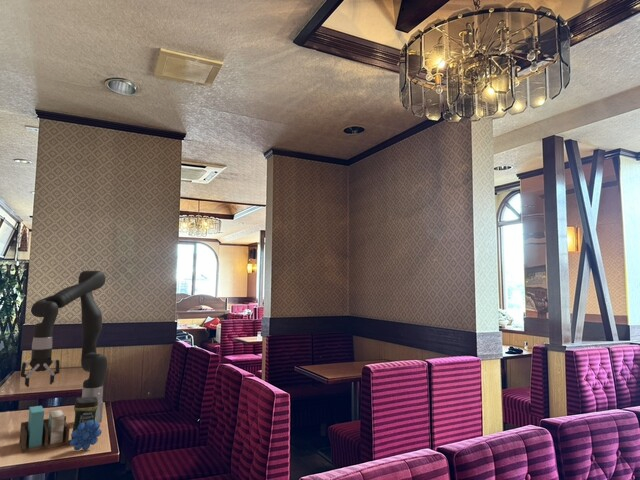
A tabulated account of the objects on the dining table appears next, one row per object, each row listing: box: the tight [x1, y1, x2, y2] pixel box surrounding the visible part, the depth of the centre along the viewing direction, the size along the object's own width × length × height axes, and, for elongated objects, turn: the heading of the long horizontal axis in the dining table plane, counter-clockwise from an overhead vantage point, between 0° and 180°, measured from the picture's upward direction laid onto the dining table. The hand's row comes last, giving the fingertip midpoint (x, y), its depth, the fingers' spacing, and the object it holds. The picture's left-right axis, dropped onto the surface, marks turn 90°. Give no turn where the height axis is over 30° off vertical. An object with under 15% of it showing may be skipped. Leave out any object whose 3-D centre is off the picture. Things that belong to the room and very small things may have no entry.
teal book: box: [27, 405, 45, 448], centre depth 190 cm, size 4×10×14 cm, turn 37°
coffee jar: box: [70, 396, 98, 440], centre depth 198 cm, size 10×8×19 cm
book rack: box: [18, 409, 70, 454], centre depth 192 cm, size 17×14×12 cm
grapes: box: [69, 420, 103, 452], centre depth 187 cm, size 12×7×12 cm, turn 119°
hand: (39, 385), depth 193 cm, fingers open, 8 cm apart
